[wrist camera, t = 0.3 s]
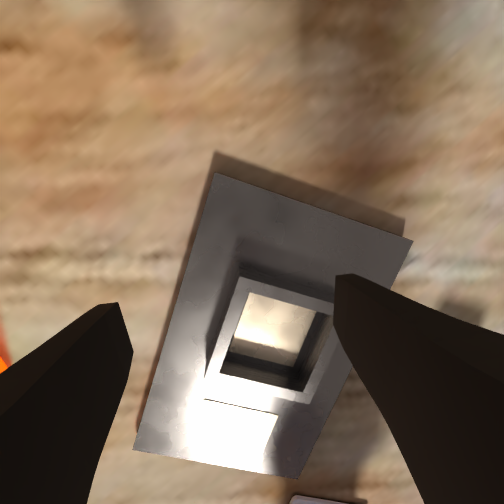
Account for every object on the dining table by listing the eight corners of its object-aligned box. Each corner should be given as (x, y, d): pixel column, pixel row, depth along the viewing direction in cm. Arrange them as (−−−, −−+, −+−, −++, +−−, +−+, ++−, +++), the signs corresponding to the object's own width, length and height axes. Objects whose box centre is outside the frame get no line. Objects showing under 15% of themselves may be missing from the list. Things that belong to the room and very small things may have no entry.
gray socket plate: (294, 465, 26) (303, 505, 23) (137, 436, 23) (123, 476, 20) (403, 237, 21) (433, 248, 17) (215, 172, 18) (213, 172, 15)
